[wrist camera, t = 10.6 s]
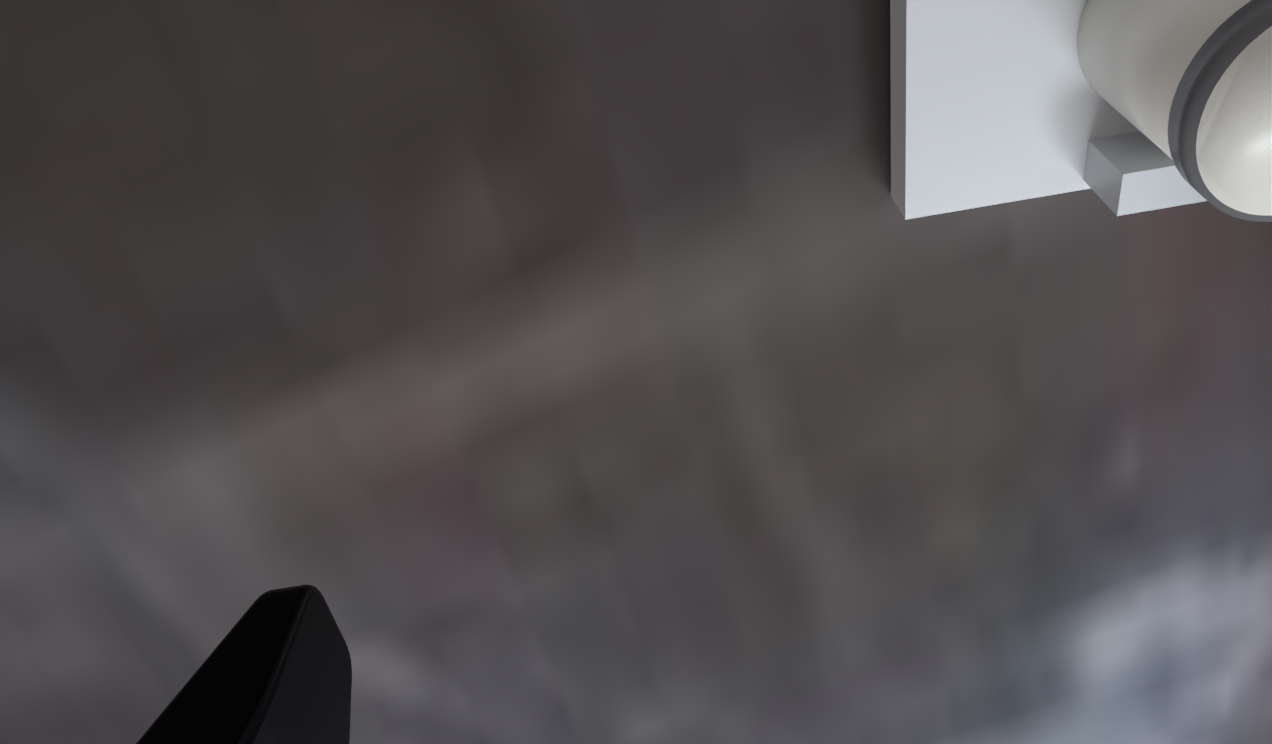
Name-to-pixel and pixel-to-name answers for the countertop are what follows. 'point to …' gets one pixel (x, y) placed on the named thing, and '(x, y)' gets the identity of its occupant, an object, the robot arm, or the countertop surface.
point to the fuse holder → (1081, 103)
